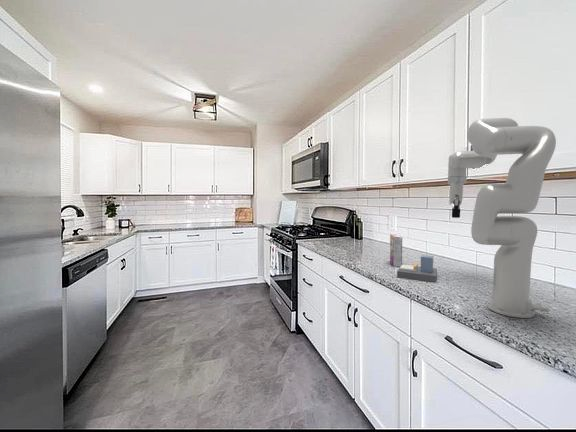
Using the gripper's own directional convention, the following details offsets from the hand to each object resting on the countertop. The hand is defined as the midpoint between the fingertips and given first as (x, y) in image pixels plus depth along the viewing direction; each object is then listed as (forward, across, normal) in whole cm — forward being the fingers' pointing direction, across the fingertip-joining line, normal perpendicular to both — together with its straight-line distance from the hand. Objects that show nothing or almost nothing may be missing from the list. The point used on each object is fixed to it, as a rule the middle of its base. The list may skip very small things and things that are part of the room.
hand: (455, 216), depth 131 cm
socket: (+28, +10, -15) cm, 34 cm away
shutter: (+25, +10, -19) cm, 33 cm away
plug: (+27, +10, -11) cm, 31 cm away
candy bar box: (+28, -8, -28) cm, 41 cm away
